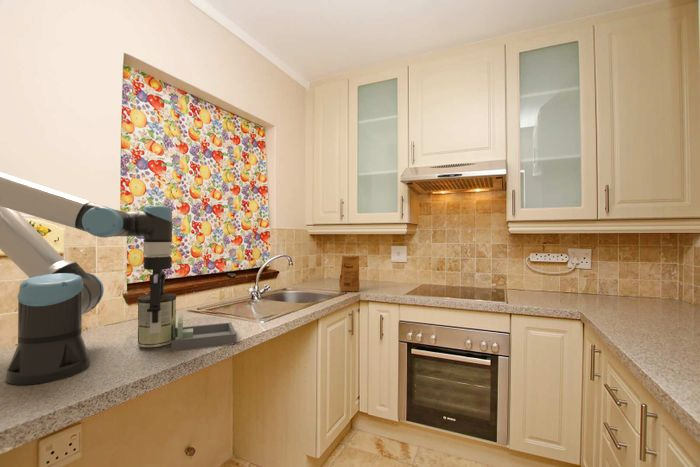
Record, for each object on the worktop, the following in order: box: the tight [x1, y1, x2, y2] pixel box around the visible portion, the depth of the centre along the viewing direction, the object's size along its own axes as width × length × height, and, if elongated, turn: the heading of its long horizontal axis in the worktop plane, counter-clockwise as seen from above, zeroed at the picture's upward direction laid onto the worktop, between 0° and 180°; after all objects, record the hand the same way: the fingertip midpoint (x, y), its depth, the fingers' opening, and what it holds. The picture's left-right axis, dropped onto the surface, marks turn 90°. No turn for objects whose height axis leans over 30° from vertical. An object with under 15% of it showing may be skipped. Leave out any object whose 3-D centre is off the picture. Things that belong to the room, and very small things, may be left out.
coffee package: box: [339, 255, 360, 292], centre depth 206 cm, size 10×12×22 cm
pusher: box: [177, 313, 193, 339], centre depth 105 cm, size 4×12×7 cm, turn 26°
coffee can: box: [137, 292, 177, 348], centre depth 102 cm, size 10×10×14 cm
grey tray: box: [170, 322, 237, 352], centre depth 107 cm, size 18×15×3 cm
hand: (156, 328), depth 102 cm, fingers closed on coffee can, 10 cm apart
